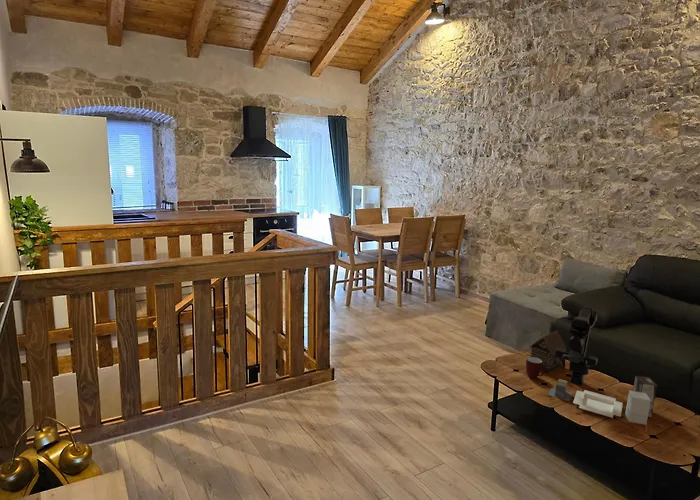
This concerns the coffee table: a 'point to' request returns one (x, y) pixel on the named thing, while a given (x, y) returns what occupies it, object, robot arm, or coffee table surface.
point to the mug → (534, 367)
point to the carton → (598, 403)
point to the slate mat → (566, 397)
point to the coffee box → (646, 389)
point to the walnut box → (561, 388)
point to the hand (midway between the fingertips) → (573, 372)
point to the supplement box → (637, 407)
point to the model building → (548, 351)
